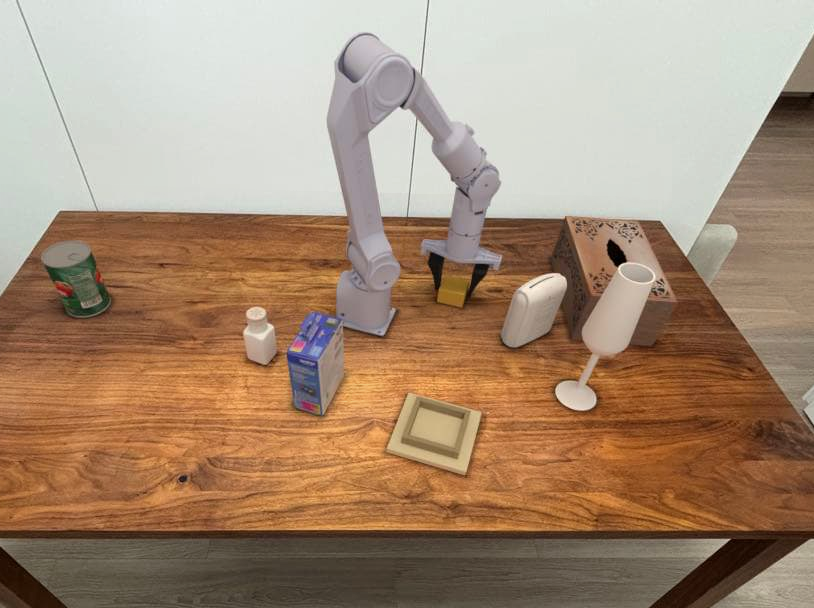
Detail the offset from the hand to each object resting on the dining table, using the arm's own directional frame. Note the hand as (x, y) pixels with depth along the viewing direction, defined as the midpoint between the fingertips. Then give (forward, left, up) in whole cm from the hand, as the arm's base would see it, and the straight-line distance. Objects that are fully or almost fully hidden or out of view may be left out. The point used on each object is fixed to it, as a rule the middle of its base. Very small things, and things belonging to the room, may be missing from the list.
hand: (453, 291), depth 103 cm
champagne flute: (+25, -18, -2) cm, 31 cm away
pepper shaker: (-27, -28, -2) cm, 39 cm away
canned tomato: (-63, -27, -2) cm, 69 cm away
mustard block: (0, 0, -1) cm, 1 cm away
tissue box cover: (+27, +10, -2) cm, 29 cm away
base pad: (+5, -34, -1) cm, 34 cm away
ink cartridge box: (-15, -32, -2) cm, 35 cm away
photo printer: (+15, -6, -2) cm, 16 cm away
